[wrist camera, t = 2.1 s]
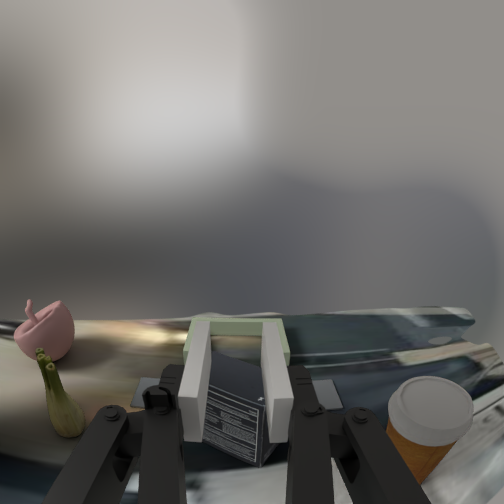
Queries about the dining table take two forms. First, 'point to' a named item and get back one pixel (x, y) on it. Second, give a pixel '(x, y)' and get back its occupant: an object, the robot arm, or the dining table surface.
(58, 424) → the fennel bulb
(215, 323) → the track
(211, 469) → the dining table surface
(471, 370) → the dining table surface
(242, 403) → the small box
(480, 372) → the dining table surface
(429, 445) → the disposable coffee cup
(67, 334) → the mortar and pestle
